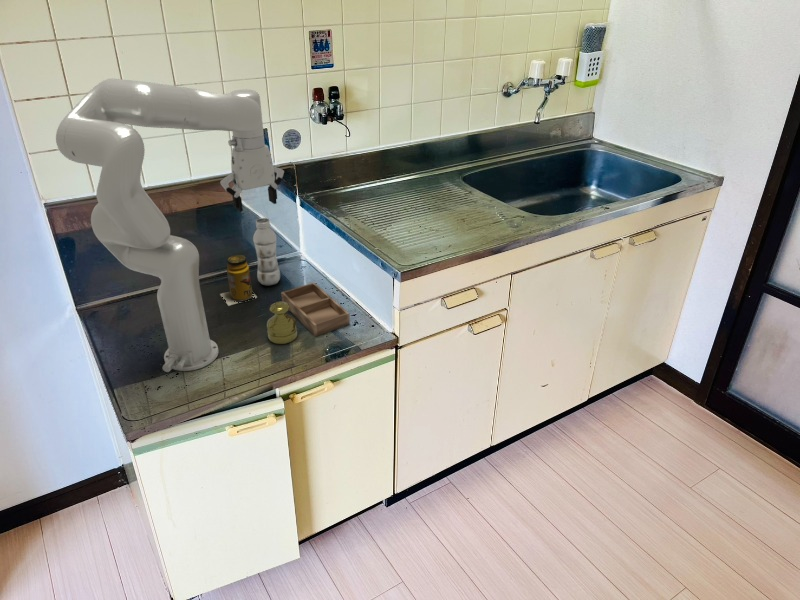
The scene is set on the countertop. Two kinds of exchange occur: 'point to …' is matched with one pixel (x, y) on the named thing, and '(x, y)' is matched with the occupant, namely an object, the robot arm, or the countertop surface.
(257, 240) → the plastic bottle
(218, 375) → the countertop surface
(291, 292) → the caddy
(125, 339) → the countertop surface
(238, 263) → the condiment
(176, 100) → the robot arm
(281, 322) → the brass weight
